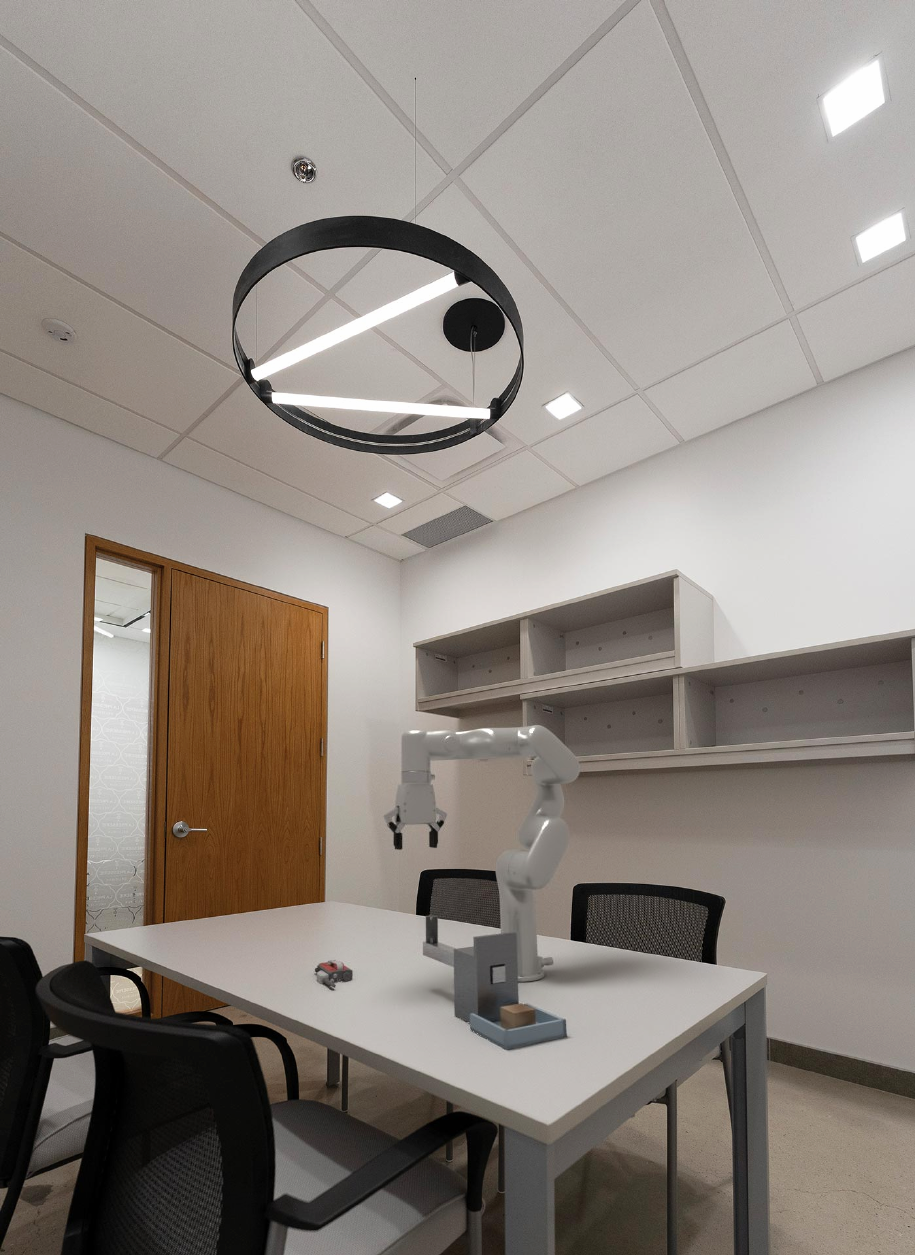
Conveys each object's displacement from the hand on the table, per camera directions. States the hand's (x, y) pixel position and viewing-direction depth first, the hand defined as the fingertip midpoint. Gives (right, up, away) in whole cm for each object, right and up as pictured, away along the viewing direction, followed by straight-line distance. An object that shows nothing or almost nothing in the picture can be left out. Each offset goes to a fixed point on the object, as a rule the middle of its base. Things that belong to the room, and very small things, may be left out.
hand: (416, 848), depth 178 cm
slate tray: (+22, -25, -38) cm, 51 cm away
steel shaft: (+11, -22, -17) cm, 30 cm away
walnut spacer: (+22, -20, -37) cm, 48 cm away
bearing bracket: (+17, -27, -28) cm, 42 cm away
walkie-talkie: (-22, -37, +6) cm, 43 cm away
